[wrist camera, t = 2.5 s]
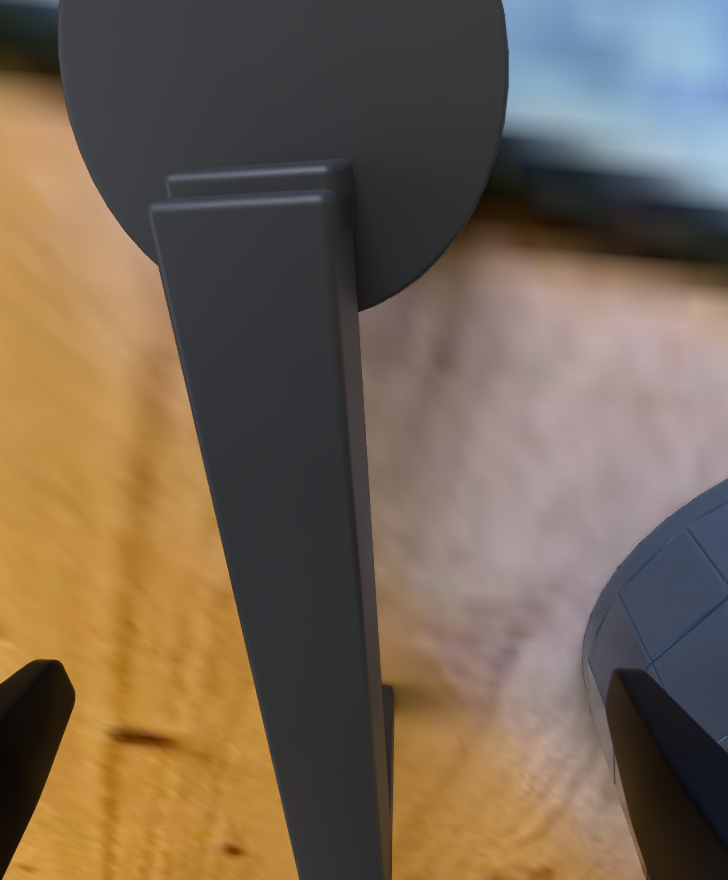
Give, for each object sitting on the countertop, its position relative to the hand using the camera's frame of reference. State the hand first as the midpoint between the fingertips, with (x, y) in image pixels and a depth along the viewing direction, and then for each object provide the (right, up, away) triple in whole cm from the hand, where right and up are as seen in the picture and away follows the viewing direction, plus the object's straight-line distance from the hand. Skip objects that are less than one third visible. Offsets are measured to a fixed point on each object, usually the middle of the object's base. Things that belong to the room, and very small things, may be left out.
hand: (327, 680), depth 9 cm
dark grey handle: (0, +4, +3) cm, 5 cm away
